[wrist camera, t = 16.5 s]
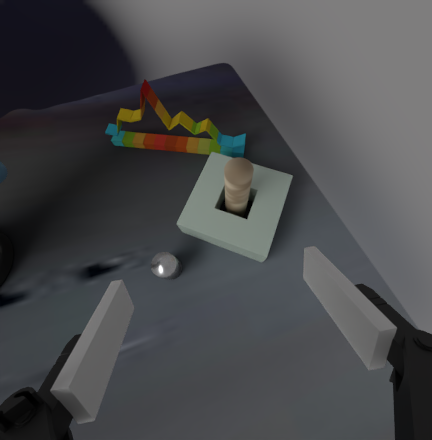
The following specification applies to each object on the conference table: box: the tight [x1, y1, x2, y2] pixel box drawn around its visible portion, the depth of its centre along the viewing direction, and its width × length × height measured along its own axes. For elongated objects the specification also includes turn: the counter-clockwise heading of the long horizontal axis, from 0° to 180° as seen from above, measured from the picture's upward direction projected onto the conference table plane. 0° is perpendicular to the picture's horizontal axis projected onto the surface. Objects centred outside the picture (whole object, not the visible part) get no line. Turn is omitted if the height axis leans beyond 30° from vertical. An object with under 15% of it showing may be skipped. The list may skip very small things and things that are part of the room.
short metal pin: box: [151, 252, 182, 280], centre depth 35 cm, size 4×4×5 cm
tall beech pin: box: [224, 157, 254, 217], centre depth 34 cm, size 4×4×14 cm
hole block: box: [177, 152, 293, 262], centre depth 39 cm, size 16×16×5 cm
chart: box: [105, 80, 246, 158], centre depth 41 cm, size 30×3×15 cm, turn 81°
